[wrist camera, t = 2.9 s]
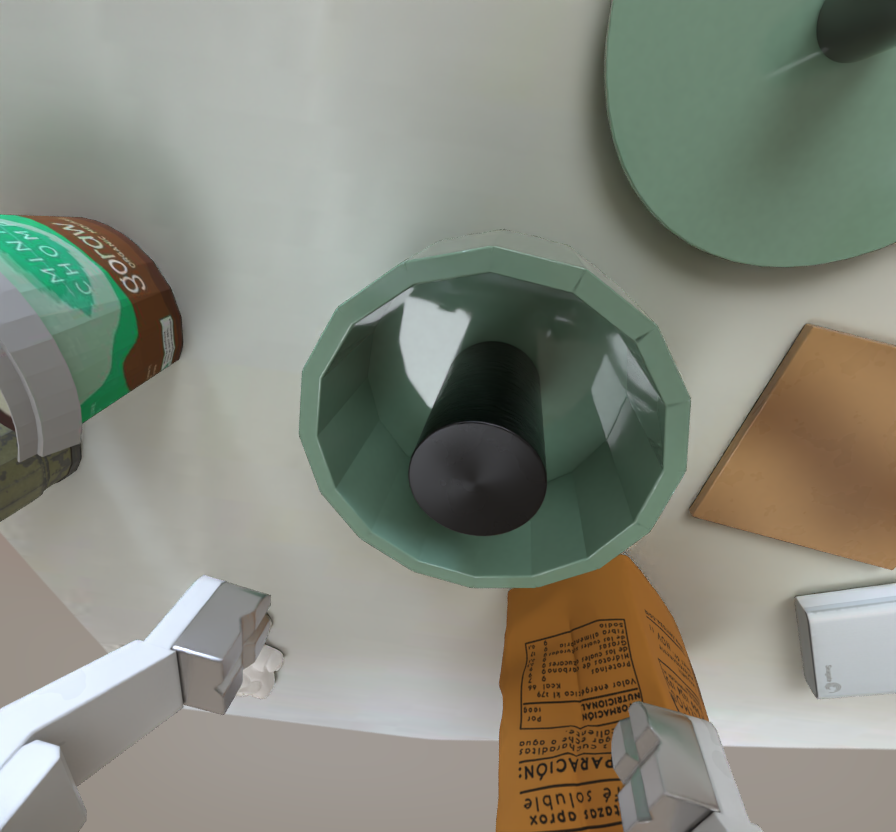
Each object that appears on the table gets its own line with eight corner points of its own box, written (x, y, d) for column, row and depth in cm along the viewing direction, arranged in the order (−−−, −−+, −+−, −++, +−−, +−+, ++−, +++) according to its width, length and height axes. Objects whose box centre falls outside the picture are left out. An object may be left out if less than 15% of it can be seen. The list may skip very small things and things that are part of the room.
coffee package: (555, 685, 33) (595, 1362, 14) (489, 571, 29) (417, 1325, 10) (694, 667, 30) (994, 1516, 11) (643, 535, 26) (993, 1562, 6)
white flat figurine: (201, 669, 40) (178, 703, 38) (176, 579, 35) (147, 611, 32) (291, 690, 40) (274, 726, 37) (280, 600, 34) (259, 635, 31)
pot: (377, 196, 20) (310, 199, 14) (697, 276, 19) (779, 316, 13) (346, 458, 27) (292, 538, 21) (580, 521, 26) (596, 623, 20)
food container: (237, 286, 23) (54, 346, 14) (202, 374, 25) (32, 470, 17) (8, 132, 21) (-365, 90, 12) (-2, 245, 24) (-311, 277, 15)
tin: (457, 330, 21) (421, 405, 14) (553, 354, 21) (567, 443, 14) (438, 413, 24) (397, 516, 16) (524, 436, 23) (523, 551, 16)
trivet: (805, 322, 19) (813, 326, 19) (1060, 386, 19) (1075, 391, 18) (688, 509, 25) (691, 516, 24) (884, 562, 24) (892, 570, 24)
